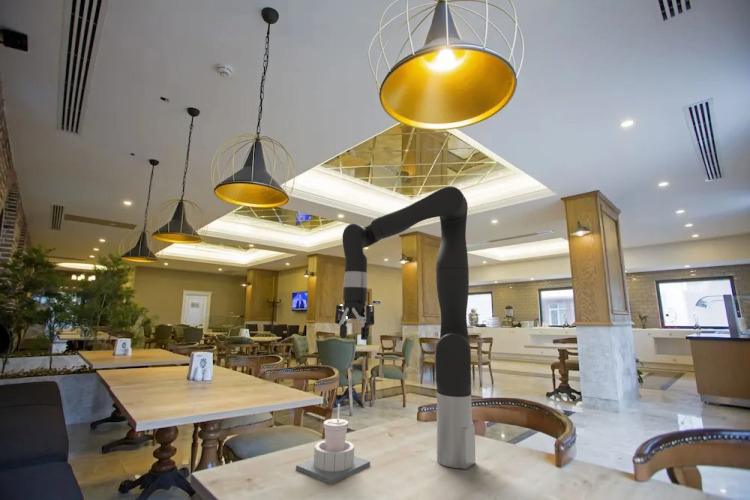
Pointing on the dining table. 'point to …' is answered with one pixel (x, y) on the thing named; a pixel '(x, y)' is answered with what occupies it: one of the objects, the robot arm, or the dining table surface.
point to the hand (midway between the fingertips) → (353, 338)
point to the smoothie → (335, 433)
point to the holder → (332, 463)
